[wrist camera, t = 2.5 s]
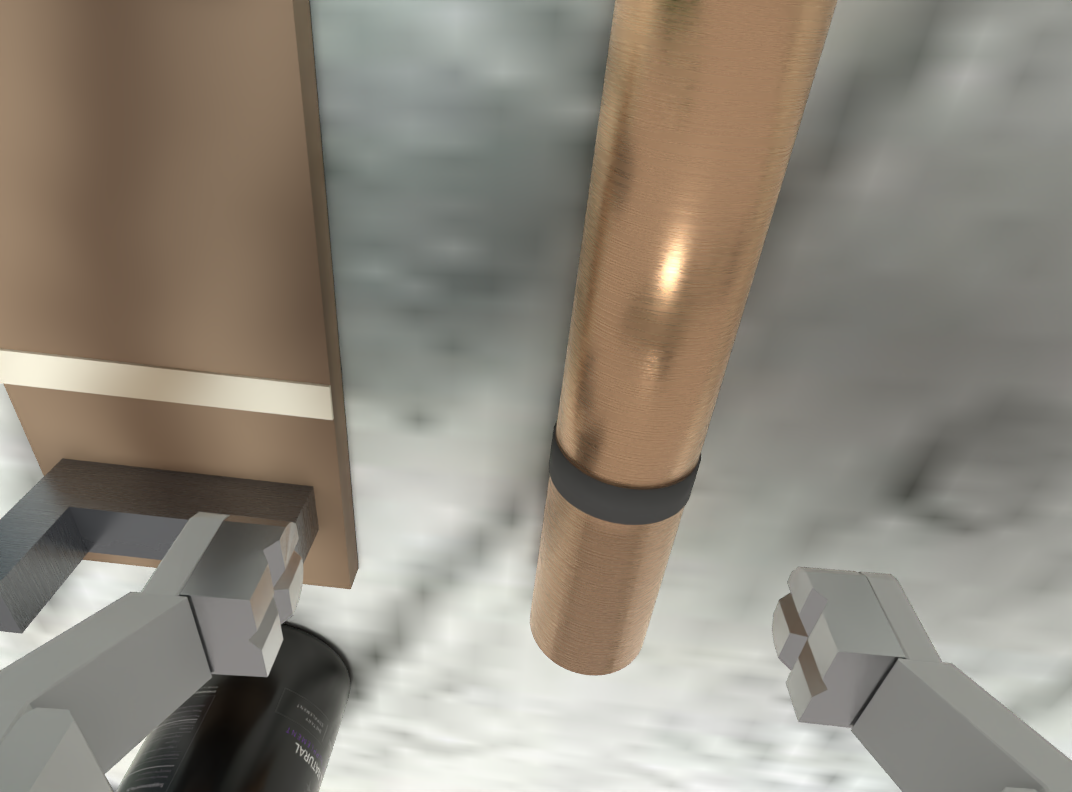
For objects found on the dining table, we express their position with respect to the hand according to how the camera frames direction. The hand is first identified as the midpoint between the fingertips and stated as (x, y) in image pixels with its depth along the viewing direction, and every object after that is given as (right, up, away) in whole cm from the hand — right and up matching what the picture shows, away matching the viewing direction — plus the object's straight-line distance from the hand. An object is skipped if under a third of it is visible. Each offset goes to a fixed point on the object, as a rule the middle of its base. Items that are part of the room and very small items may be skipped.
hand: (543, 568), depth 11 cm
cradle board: (-11, +7, +7) cm, 15 cm away
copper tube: (+1, +5, +7) cm, 9 cm away
